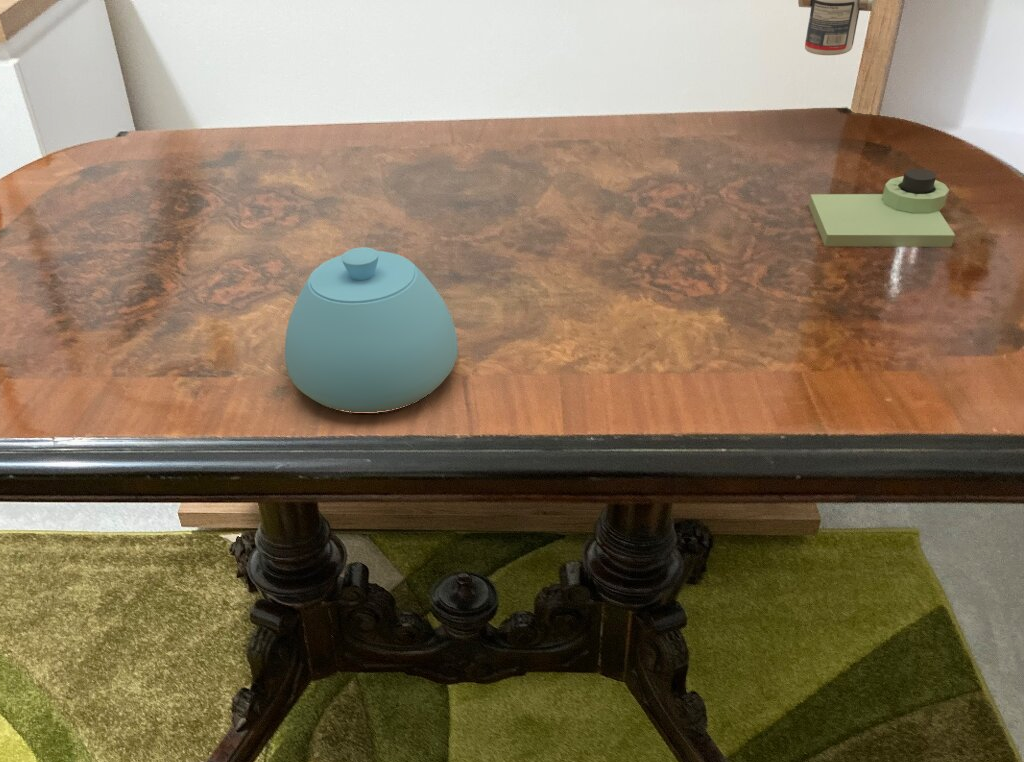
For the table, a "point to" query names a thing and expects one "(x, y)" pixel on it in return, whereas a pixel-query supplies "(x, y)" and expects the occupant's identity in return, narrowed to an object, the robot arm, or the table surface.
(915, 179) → the button
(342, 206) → the table surface
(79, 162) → the table surface
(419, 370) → the sugar bowl
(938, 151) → the table surface
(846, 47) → the pill bottle
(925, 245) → the scale
